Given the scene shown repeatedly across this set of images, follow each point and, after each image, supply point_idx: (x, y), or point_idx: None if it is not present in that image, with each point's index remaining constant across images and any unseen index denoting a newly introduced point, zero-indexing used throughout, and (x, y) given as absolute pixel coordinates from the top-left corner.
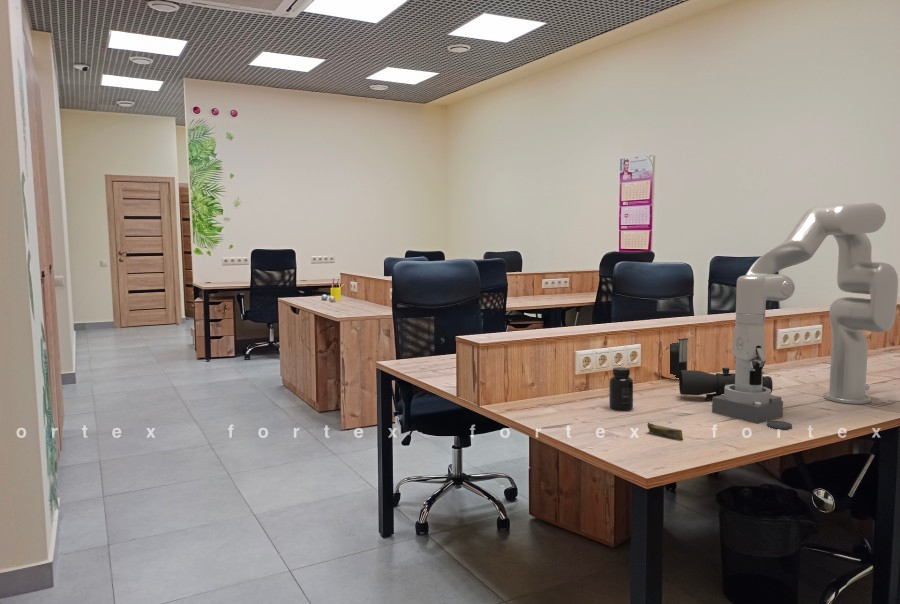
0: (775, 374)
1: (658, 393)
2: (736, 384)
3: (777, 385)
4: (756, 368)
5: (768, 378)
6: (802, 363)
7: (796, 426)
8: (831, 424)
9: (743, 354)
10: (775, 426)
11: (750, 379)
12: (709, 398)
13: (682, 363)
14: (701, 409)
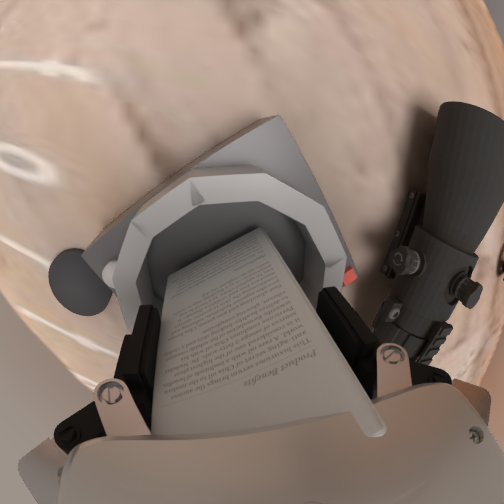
0: (464, 372)
1: (474, 94)
2: (265, 255)
3: None
4: (82, 409)
5: None
6: None
7: (97, 324)
8: None
9: (172, 502)
10: (52, 263)
11: (134, 327)
12: (412, 193)
13: None
14: (310, 100)
